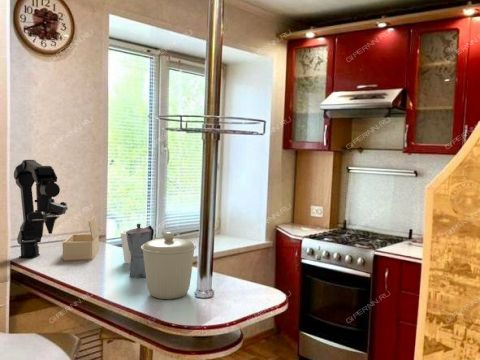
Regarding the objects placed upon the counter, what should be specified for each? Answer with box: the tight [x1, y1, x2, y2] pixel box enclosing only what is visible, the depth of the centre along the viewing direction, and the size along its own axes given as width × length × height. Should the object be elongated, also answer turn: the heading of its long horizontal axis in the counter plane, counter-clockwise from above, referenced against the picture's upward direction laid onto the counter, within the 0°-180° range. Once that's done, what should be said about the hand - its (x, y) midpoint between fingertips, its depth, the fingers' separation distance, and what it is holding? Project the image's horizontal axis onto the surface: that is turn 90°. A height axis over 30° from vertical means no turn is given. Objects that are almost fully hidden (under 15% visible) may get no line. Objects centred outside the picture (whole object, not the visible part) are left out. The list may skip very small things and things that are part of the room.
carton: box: [62, 233, 100, 262], centre depth 205 cm, size 12×19×8 cm, turn 9°
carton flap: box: [88, 215, 100, 240], centre depth 205 cm, size 8×16×1 cm
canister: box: [141, 231, 197, 300], centre depth 151 cm, size 18×18×21 cm
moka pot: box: [126, 223, 155, 279], centre depth 175 cm, size 10×15×20 cm, turn 158°
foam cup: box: [120, 229, 131, 265], centre depth 194 cm, size 10×9×13 cm
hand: (45, 235), depth 184 cm, fingers open, 9 cm apart
